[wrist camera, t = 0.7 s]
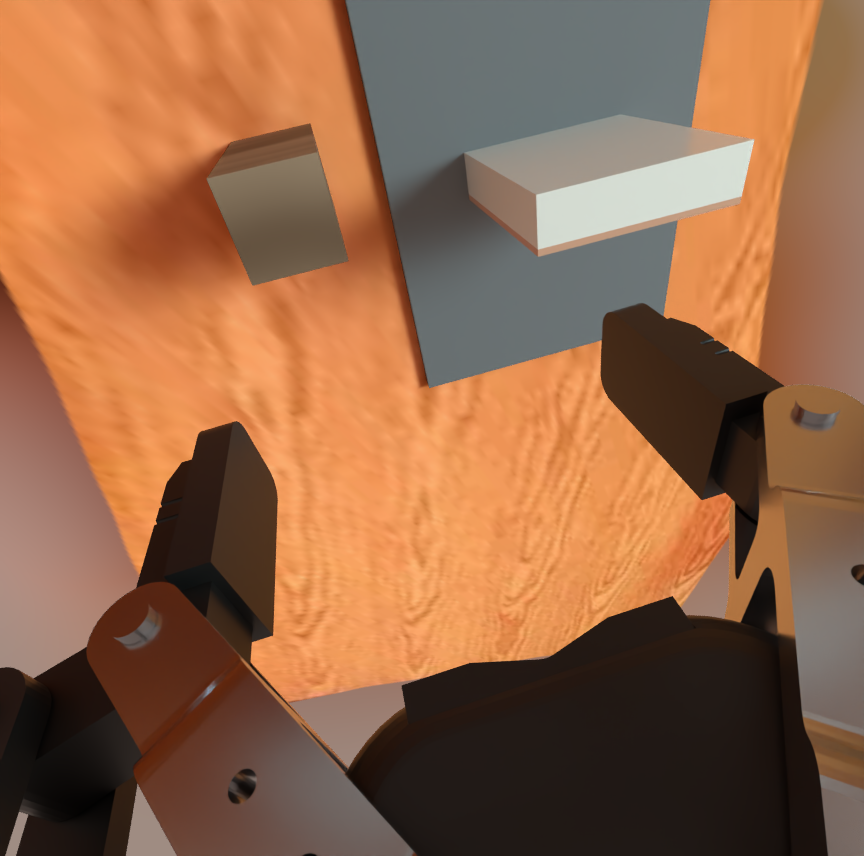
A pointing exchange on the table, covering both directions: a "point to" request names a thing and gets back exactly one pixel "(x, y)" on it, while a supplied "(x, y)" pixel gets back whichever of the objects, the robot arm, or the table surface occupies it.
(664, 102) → the mat
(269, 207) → the block
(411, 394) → the table surface
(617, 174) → the tile
